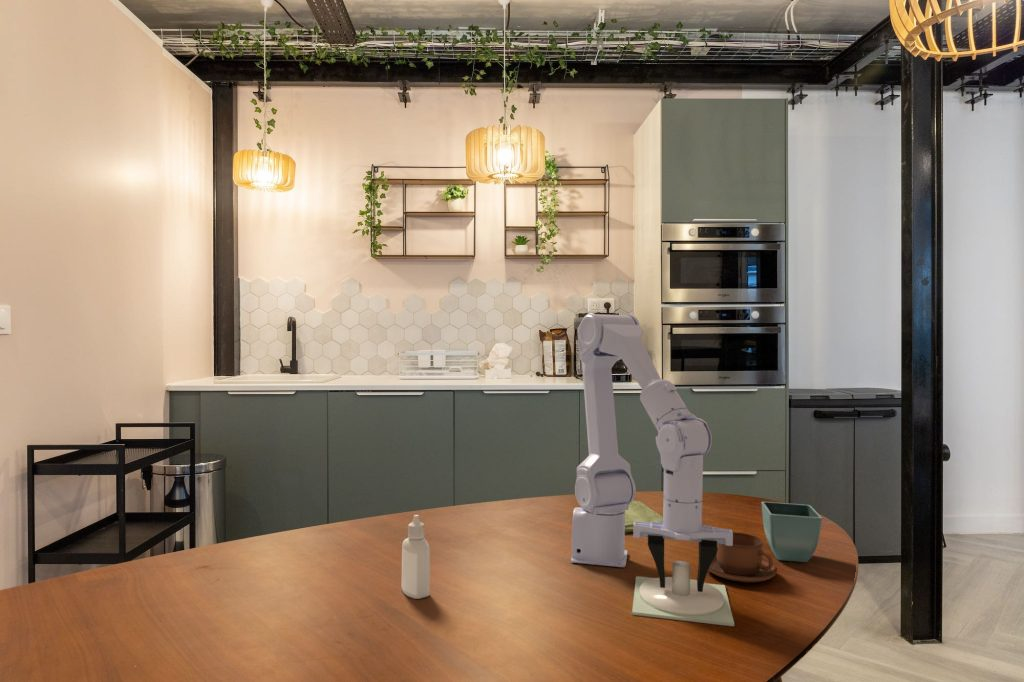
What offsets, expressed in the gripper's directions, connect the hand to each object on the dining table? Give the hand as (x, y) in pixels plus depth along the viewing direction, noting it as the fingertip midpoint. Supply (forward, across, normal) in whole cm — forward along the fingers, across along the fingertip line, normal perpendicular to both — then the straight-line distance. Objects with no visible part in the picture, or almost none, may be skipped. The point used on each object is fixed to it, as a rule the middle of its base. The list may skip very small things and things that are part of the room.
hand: (681, 587), depth 97 cm
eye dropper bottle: (+2, -40, -8) cm, 41 cm away
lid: (+2, 0, 0) cm, 2 cm away
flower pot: (+2, +20, +25) cm, 32 cm away
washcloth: (+3, -10, +40) cm, 41 cm away
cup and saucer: (+2, +10, +14) cm, 17 cm away
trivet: (+2, 0, 0) cm, 2 cm away
